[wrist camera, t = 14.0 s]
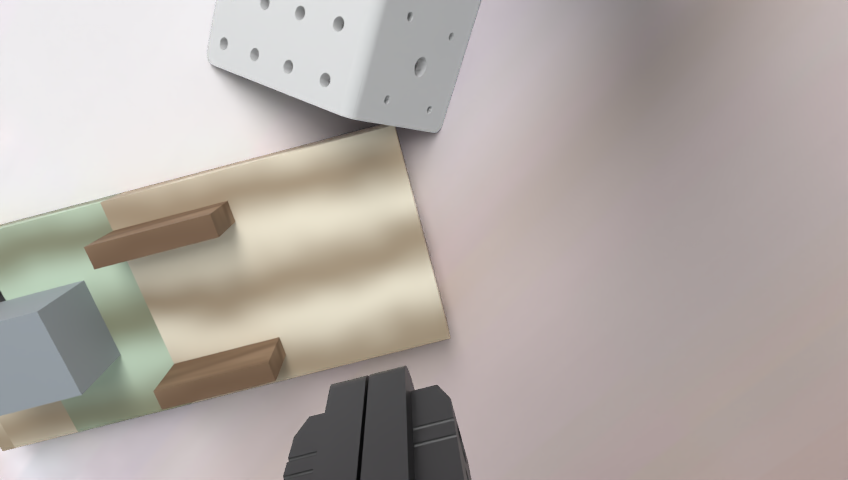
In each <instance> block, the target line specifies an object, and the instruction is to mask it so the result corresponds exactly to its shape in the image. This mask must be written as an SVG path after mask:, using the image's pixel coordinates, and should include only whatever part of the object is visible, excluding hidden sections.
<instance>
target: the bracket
mask: <svg viewBox="0 0 848 480" xmlns="http://www.w3.org/2000/svg"><path fill="white" fill-rule="evenodd" d="M480 2H481V0H216V4H215V9H214V15H213V21H212V26H211V32H210V38H209V43H208V49H207V58H208V61H209V63H210V64H211V65H214V66H216V67H219V68H221V69H224V70H226V71H229V72H231V73H234V74H237V75H239V76H242V77H244V78H247V79H249V80H252V81H254V82H257V83H259V84H262V85H264V86H267V87H269V88H272V89H274V90H277V91H279V92H282V93H285V94H287V95H290V96H292V97H295V98H297V99H300V100H302V101H305V102H307V103H310V104H312V105H315V106H317V107H320V108H322V109H325V110H328V111H330V112H333V113H335V114H338V115H340V116H343V117H346V118H350V119H354V120H360V121H366V122H372V123H378V124H384V125H390V126H396V127H402V128H408V129H414V130H420V131H426V132H432V133H436V132H438V131H439V130H440V129H441V127H442V125H443V122H444V119H445V115H446V112H447V109H448V106H449V103H450V99H451V96H452V93H453V90H454V86H455V83H456V80H457V77H458V73H459V70H460V67H461V64H462V61H463V57H464V54H465V51H466V48H467V44H468V41H469V38H470V35H471V32H472V28H473V25H474V22H475V19H476V15H477V12H478V9H479V6H480ZM343 23H344V27H343V29H342V26H343ZM416 62H417V65H416V68H415V64H416ZM414 69H415V70H414ZM329 80H330V84H329Z"/></svg>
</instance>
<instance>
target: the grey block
mask: <svg viewBox="0 0 848 480" xmlns="http://www.w3.org/2000/svg"><path fill="white" fill-rule="evenodd" d="M120 355H121V354H120V352H119V350H118V348H117V346H116V344H115V342H114V340H113V338H112V336H111V334H110V332H109V330H108V328H107V326H106V324H105V322H104V320H103V318H102V316H101V314H100V312H99V310H98V308H97V306H96V304H95V302H94V300H93V298H92V295H91V293H90V291H89V289H88V287H87V285H86V283H85V281H84V280H83V281H79V282H75V283H72V284H68V285H64V286H60V287H56V288H53V289H49V290H45V291H41V292H37V293H33V294H30V295H26V296H22V297H18V298H14V299H11V300H7V301H3V302H0V416H2V415H6V414H10V413H14V412H17V411H21V410H25V409H29V408H33V407H37V406H41V405H45V404H49V403H53V402H56V401H60V400H64V399H68V398H72V397H76V396H80V395H82V394H83V393H84V392H85V391H86V390H87V389H88V388H89V387H90V386H91V385H92V384H93V383H94V382H95V381H96V380H97V379H98V378H99V377H100V376H101V375H102V374H103V373H104V372H105V371H106V370H107V369H108V367H109V366H110V365H111V364H112V363H113V362H114V361H115V360H116V359H117V358H118V357H119V356H120Z"/></svg>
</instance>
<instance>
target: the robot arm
mask: <svg viewBox="0 0 848 480" xmlns="http://www.w3.org/2000/svg"><path fill="white" fill-rule="evenodd" d="M288 459H289V462H287V465H286V468H285V472H284V475H283V477H284V480H471V475H470V470H469V465H468V460H467V457H466V453H465V449H464V446H463V442H462V439H461V435H460V431H459V428H458V424H457V420H456V417H455V413H454V410H453V406H452V402H451V399H450V397H449V396H448V395H447V394H446V393H445V392H444V391H443V390H442V389H441V388H440V387H439V386H438V385H434V386H430V387H426V388H422V389H418V390H414V386H413V383H412V380H411V376H410V373H409V371H408V368H407V367H406V366H403V367H399V368H395V369H391V370H387V371H383V372H379V373H375V374H371V375H370V376H364V377H360V378H356V379H352V380H348V381H344V382H340V383H336V384H332V385H331V386H330V390H329V395H328V400H327V405H326V410H325V413H322V414H318V415H314V416H310V417H309V418H308V419H307V421H306V422H305V423H304V425H303V426H302V427H301V429H300V430H299V431H298V433H297V434H296V435H295V437H294V439H293V443H292V446H291V450H290V454H289V457H288Z"/></svg>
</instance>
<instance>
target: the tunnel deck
mask: <svg viewBox="0 0 848 480" xmlns="http://www.w3.org/2000/svg"><path fill="white" fill-rule="evenodd" d="M83 280H84V281H85V283H86V285H87V287H88V289H89V291H90V293H91V295H92V298H93V300H94V302H95V304H96V306H97V308H98V310H99V312H100V314H101V316H102V318H103V320H104V322H105V324H106V326H107V328H108V330H109V332H110V334H111V336H112V338H113V340H114V342H115V344H116V346H117V348H118V350H119V352H120V354H121V355H120V356H119V357H118V358H117V359H116V360H115V361H114V362H113V363H112V364H111V365H110V366H109V367H108V369H107V370H106V371H105V372H104V373H103V374H102V375H101V376H100V377H99V378H98V379H97V380H96V381H95V382H94V383H93V384H92V385H91V386H90V387H89V388H88V389H87V390H86V391H85V392H84V393H83V394H82V395H80V396H76V397H72V398H68V399H64V400H60V401H56V402H53V403H49V404H45V405H41V406H37V407H33V408H29V409H25V410H21V411H17V412H14V413H10V414H6V415H2V416H0V447H1V449H2V451H5V450H9V449H13V448H17V447H21V446H25V445H29V444H33V443H37V442H41V441H45V440H49V439H53V438H57V437H61V436H65V435H69V434H73V433H77V432H81V431H85V430H89V429H93V428H97V427H101V426H104V425H108V424H112V423H116V422H120V421H124V420H128V419H132V418H136V417H140V416H144V415H148V414H152V413H156V412H160V411H164V410H168V409H172V408H176V407H180V406H184V405H188V404H192V403H196V402H200V401H204V400H208V399H212V398H216V397H220V396H224V395H228V394H232V393H236V392H240V391H243V390H247V389H251V388H255V387H259V386H263V385H267V384H271V383H275V382H279V381H283V380H287V379H291V378H295V377H299V376H303V375H307V374H311V373H315V372H319V371H323V370H327V369H331V368H335V367H339V366H343V365H347V364H351V363H355V362H359V361H363V360H367V359H371V358H375V357H379V356H383V355H386V354H390V353H394V352H398V351H402V350H406V349H410V348H414V347H418V346H422V345H426V344H430V343H434V342H438V341H442V340H446V339H450V333H449V328H448V324H447V319H446V315H445V312H444V308H443V304H442V300H441V297H440V293H439V289H438V285H437V281H436V278H435V274H434V270H433V266H432V263H431V259H430V255H429V251H428V248H427V244H426V240H425V236H424V232H423V229H422V225H421V221H420V217H419V214H418V210H417V206H416V202H415V198H414V195H413V191H412V187H411V183H410V180H409V176H408V172H407V168H406V164H405V161H404V157H403V153H402V149H401V146H400V142H399V138H398V134H397V131H396V127H395V126H390V125H384V124H381V125H378V126H374V127H370V128H366V129H362V130H359V131H355V132H351V133H347V134H343V135H340V136H336V137H332V138H328V139H324V140H321V141H317V142H313V143H309V144H305V145H302V146H298V147H294V148H290V149H287V150H283V151H279V152H275V153H271V154H268V155H264V156H260V157H256V158H252V159H249V160H245V161H241V162H237V163H233V164H230V165H226V166H222V167H218V168H214V169H211V170H207V171H203V172H199V173H195V174H192V175H188V176H184V177H180V178H176V179H173V180H169V181H165V182H161V183H157V184H154V185H150V186H146V187H142V188H138V189H135V190H131V191H127V192H123V193H119V194H116V195H112V196H108V197H104V198H101V199H97V200H93V201H89V202H85V203H82V204H78V205H74V206H70V207H66V208H63V209H59V210H55V211H51V212H47V213H44V214H40V215H36V216H32V217H28V218H25V219H21V220H17V221H13V222H9V223H6V224H2V225H0V302H3V301H7V300H11V299H14V298H18V297H22V296H26V295H30V294H33V293H37V292H41V291H45V290H49V289H53V288H56V287H60V286H64V285H68V284H72V283H75V282H79V281H83Z"/></svg>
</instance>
